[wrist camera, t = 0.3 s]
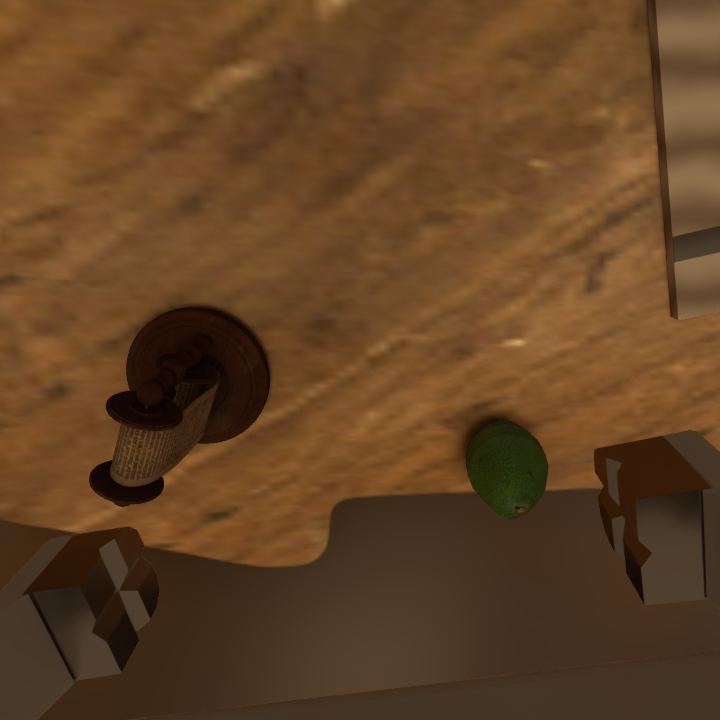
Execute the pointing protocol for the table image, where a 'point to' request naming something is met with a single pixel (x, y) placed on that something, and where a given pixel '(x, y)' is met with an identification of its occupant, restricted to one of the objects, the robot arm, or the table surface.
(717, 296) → the subfloor panel
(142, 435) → the scroll
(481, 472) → the avocado
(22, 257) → the table surface
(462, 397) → the table surface
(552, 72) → the table surface
